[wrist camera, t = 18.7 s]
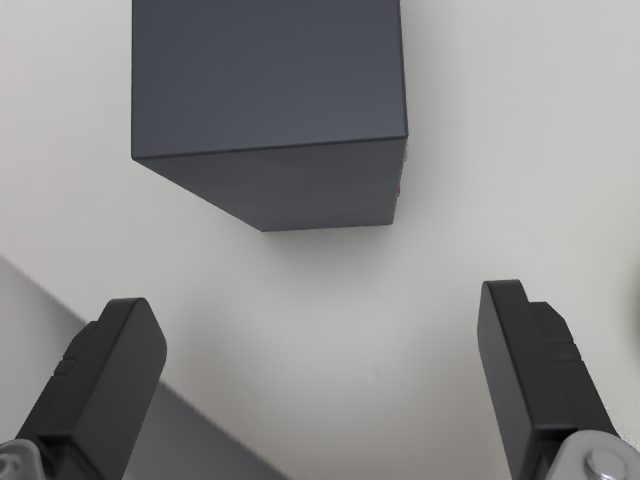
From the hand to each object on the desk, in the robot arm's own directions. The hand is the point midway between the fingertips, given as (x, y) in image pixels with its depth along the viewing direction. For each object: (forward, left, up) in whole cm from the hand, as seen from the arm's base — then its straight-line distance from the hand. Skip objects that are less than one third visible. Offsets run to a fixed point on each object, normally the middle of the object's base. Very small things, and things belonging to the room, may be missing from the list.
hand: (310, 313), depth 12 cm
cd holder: (+3, +8, -6) cm, 10 cm away
